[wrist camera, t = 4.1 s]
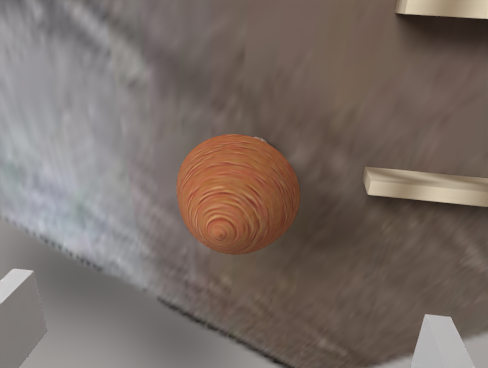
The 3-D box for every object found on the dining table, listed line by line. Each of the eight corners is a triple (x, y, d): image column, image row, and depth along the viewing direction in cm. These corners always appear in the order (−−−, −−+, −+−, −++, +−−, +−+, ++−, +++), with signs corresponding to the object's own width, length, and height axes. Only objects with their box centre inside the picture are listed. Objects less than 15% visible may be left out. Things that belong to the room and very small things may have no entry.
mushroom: (212, 92, 33) (150, 154, 19) (308, 106, 32) (313, 180, 19) (204, 179, 36) (147, 284, 23) (291, 193, 36) (286, 309, 22)
